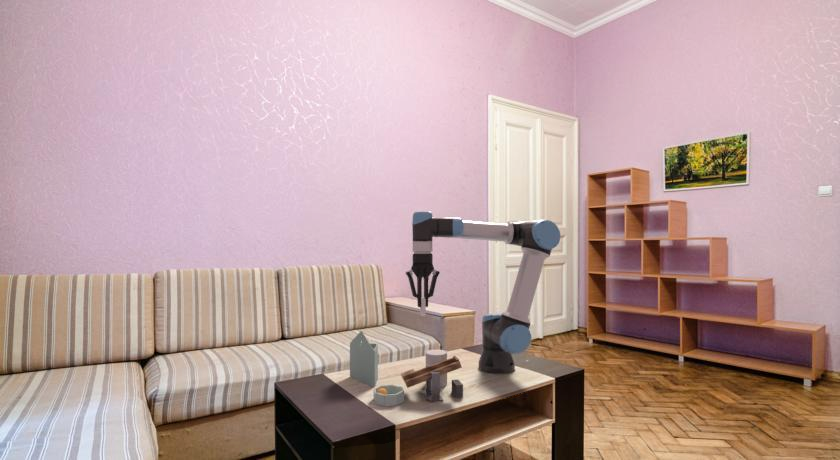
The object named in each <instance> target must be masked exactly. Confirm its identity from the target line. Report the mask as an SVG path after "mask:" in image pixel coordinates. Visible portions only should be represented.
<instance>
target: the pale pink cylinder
mask: <svg viewBox="0 0 840 460" xmlns="http://www.w3.org/2000/svg"><path fill="white" fill-rule="evenodd" d="M447 359H448V352H447V350H445V349H444V350H443V349H429V350H426V351H425V366H426V365H433V364H436V363H439V362H442V361H444V360H447ZM447 385H448V373H446V374H443V375H440V388H443V387H446V386H447Z"/></svg>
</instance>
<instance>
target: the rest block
mask: <svg viewBox="0 0 840 460" xmlns="http://www.w3.org/2000/svg"><path fill="white" fill-rule="evenodd" d="M451 393H452V394H453V395H454V397H455V398H456V399H459V398H464V384H463V383H462V382H461V381H460V380H459V379H458V378H457V379H451Z"/></svg>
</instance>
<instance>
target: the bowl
mask: <svg viewBox="0 0 840 460" xmlns="http://www.w3.org/2000/svg"><path fill="white" fill-rule="evenodd" d="M381 388H384V389H385V390H386V391H387V395H384V394H380V393H377V391H378V390H379V389H381ZM373 402H374V404H375V405H379V406H382V407H389V406H397V405H400V404H402V403H404V402H405V390H404V388H403V387H402V386H401V385H396V384H384V385H383V384H382V385H379V386H376V387H373Z"/></svg>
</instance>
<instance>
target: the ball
mask: <svg viewBox="0 0 840 460" xmlns="http://www.w3.org/2000/svg"><path fill="white" fill-rule="evenodd" d="M377 393H380V394H384V395H387V391H386V390H385V389H384V388H381V389H379V390H378V391H377Z"/></svg>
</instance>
